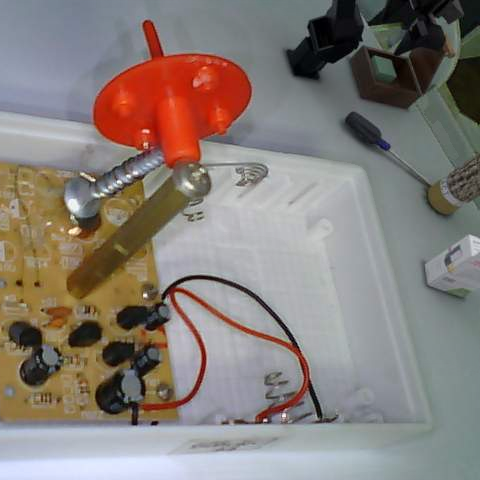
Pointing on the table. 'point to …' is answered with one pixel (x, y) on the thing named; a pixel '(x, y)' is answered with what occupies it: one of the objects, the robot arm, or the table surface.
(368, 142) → the screwdriver
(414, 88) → the chest
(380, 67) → the block
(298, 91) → the table surface
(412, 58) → the lid
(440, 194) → the canister
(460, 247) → the ink box
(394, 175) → the table surface
